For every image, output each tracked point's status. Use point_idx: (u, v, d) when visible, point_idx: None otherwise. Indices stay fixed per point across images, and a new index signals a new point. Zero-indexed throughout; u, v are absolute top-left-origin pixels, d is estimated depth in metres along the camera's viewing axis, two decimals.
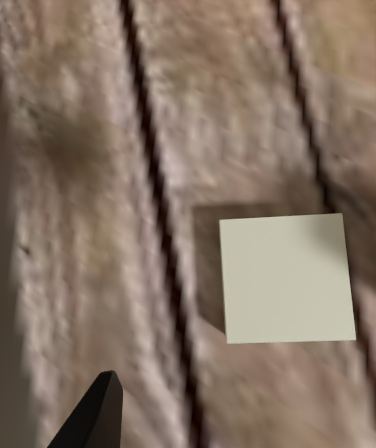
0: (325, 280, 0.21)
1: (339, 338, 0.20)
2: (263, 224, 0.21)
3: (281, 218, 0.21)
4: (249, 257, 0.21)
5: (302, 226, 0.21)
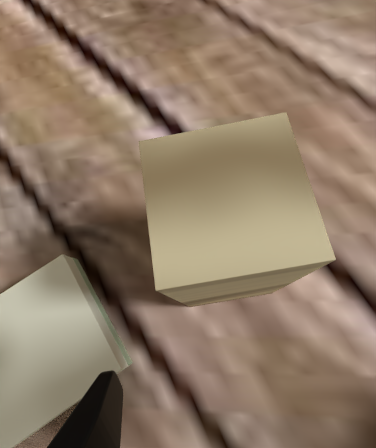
0: (70, 326, 0.19)
1: None
2: None
3: (9, 290, 0.20)
4: None
5: (31, 286, 0.20)
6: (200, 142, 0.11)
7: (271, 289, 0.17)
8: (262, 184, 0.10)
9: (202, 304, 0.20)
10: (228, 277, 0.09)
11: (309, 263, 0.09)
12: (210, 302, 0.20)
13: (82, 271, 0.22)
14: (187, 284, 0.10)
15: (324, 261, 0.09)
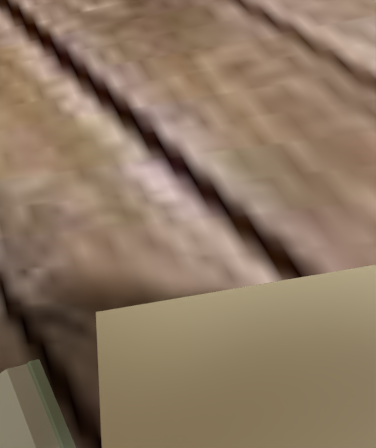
0: None
1: None
2: None
3: None
4: None
5: None
6: (258, 327, 0.04)
7: None
8: None
9: None
10: None
11: None
12: None
13: (44, 381, 0.15)
14: None
15: None
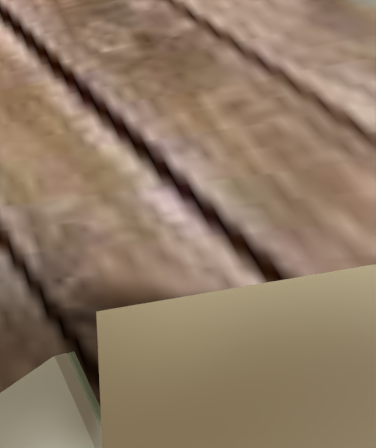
0: None
1: None
2: None
3: None
4: None
5: (17, 397, 0.17)
6: (257, 327, 0.04)
7: None
8: None
9: None
10: None
11: None
12: None
13: (80, 368, 0.19)
14: None
15: None
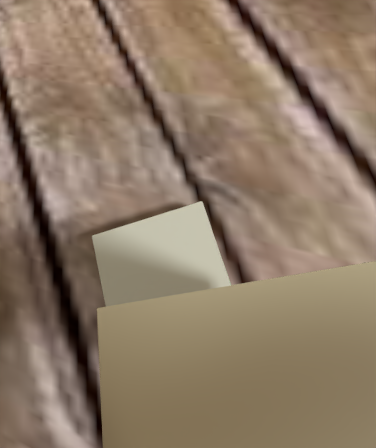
0: (200, 266, 0.21)
1: None
2: (133, 229, 0.22)
3: (148, 219, 0.22)
4: (124, 263, 0.21)
5: (168, 221, 0.22)
6: (258, 324, 0.04)
7: None
8: None
9: None
10: None
11: None
12: None
13: None
14: None
15: None
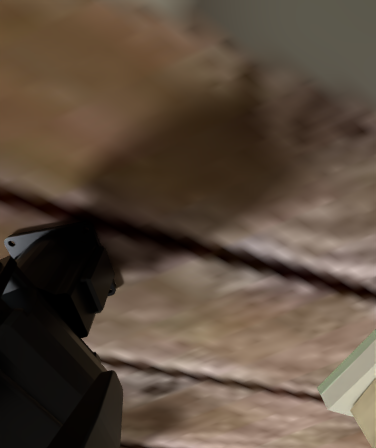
0: None
1: (336, 403, 0.27)
2: None
3: None
4: None
5: None
6: None
7: None
8: None
9: None
10: None
11: None
12: None
13: None
14: None
15: None
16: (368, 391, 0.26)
